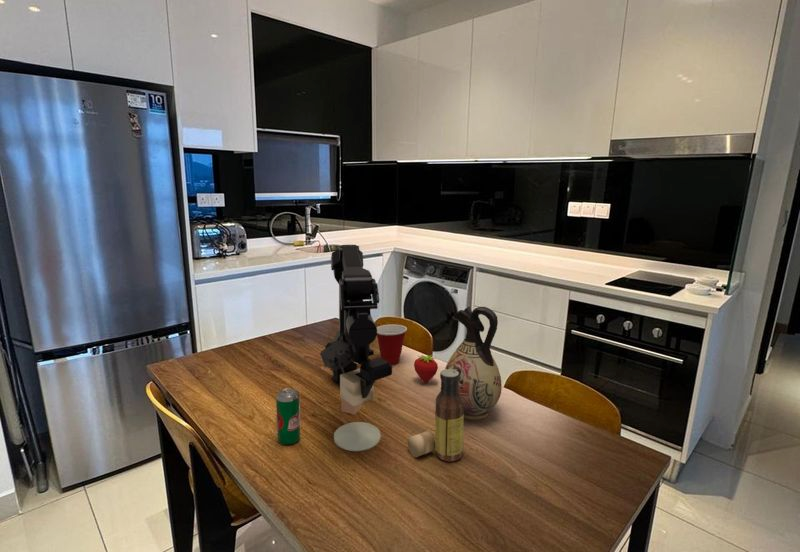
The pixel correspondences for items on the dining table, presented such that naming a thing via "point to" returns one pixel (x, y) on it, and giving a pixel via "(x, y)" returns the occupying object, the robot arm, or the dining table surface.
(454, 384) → the sauce bottle
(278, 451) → the dining table surface
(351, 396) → the maple block
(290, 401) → the soda can
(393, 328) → the plastic cup
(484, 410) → the ceramic jug
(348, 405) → the terracotta block
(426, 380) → the strawberry
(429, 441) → the beech cylinder
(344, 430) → the coaster
